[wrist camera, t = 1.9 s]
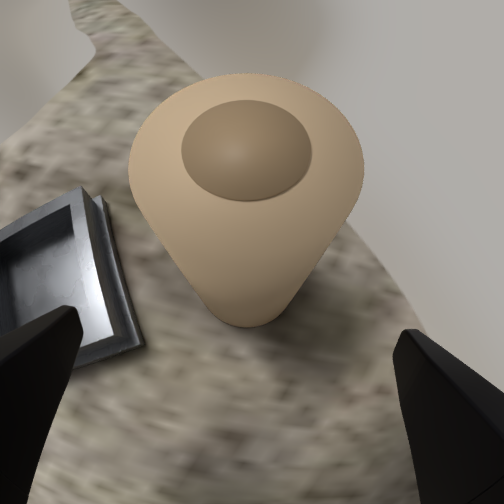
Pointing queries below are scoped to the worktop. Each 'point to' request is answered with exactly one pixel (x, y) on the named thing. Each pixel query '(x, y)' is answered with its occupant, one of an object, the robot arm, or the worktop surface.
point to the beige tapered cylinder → (246, 188)
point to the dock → (68, 274)
